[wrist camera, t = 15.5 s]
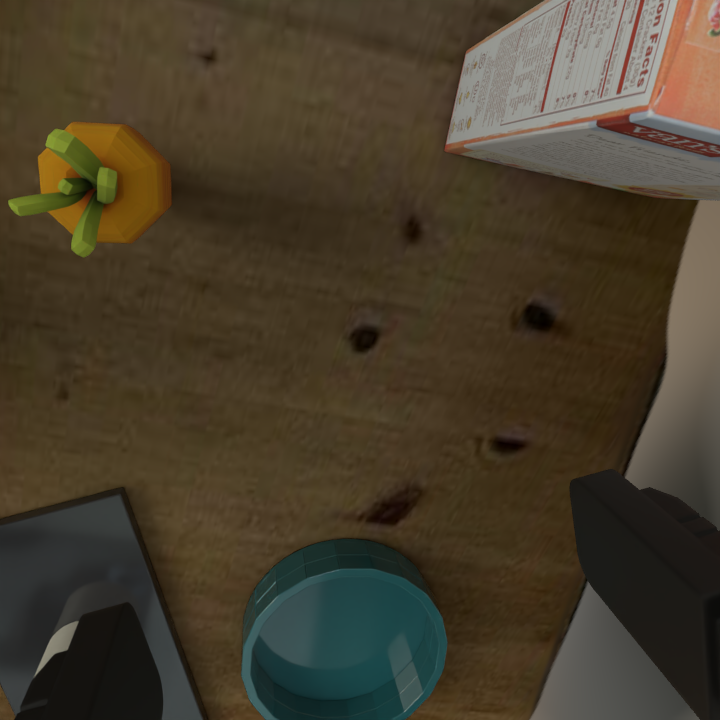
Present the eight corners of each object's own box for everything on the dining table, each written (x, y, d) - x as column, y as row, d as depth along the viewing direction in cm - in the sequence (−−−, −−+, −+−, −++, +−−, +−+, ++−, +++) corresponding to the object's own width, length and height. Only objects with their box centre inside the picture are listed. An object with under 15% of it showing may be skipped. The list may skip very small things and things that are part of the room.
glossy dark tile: (56, 781, 45) (52, 794, 44) (-61, 534, 39) (-68, 543, 38) (213, 734, 46) (213, 746, 45) (123, 486, 40) (120, 493, 39)
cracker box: (684, 98, 39) (1138, 18, 19) (653, 200, 40) (1044, 227, 20) (463, 39, 36) (722, -127, 16) (438, 152, 37) (648, 127, 18)
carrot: (171, 242, 36) (118, 287, 22) (82, 204, 35) (-35, 226, 21) (204, 157, 36) (171, 148, 21) (114, 115, 34) (14, 76, 20)
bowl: (270, 724, 46) (271, 767, 43) (219, 569, 42) (216, 603, 39) (447, 671, 48) (461, 708, 44) (414, 515, 44) (427, 544, 40)
